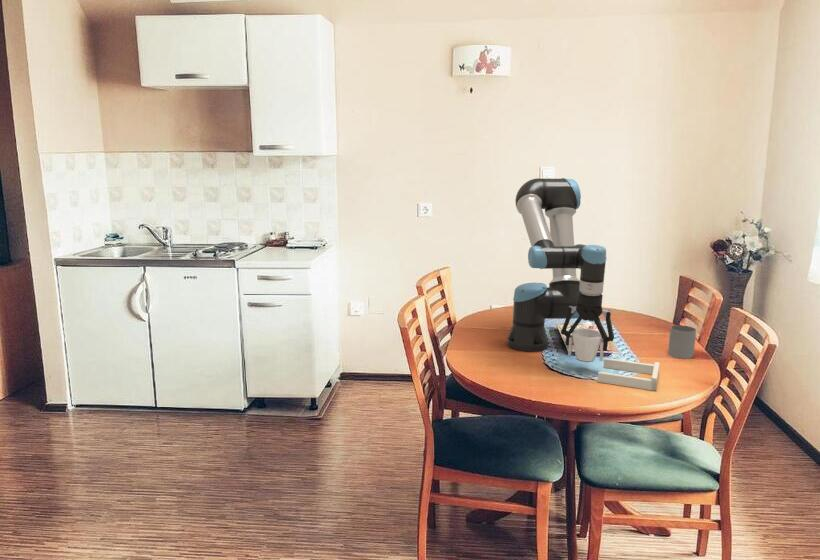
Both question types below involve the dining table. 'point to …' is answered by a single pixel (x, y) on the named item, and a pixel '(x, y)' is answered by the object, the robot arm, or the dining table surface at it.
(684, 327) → the cup
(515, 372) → the dining table surface
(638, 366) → the bracket
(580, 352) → the cup
